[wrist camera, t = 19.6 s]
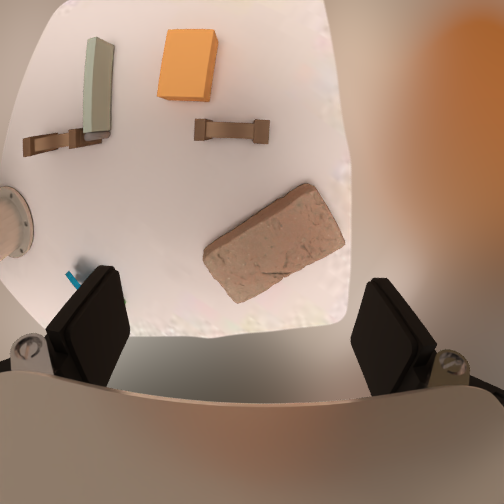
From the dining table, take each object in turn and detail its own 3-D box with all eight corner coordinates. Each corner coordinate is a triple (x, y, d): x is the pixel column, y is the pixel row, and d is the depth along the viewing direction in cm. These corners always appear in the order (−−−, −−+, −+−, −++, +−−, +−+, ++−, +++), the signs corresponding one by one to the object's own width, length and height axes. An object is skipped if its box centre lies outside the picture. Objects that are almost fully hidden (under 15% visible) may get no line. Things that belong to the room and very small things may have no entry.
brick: (237, 291, 41) (236, 310, 37) (201, 247, 38) (196, 263, 34) (338, 230, 38) (349, 244, 33) (307, 178, 35) (316, 185, 30)
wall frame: (51, 150, 31) (23, 157, 25) (51, 134, 30) (22, 138, 24) (264, 141, 32) (268, 144, 26) (265, 122, 31) (269, 120, 25)
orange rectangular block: (169, 100, 30) (156, 96, 25) (178, 41, 27) (167, 29, 22) (209, 101, 30) (203, 97, 26) (218, 42, 27) (214, 29, 22)
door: (110, 137, 31) (91, 140, 26) (95, 139, 31) (75, 143, 26) (113, 45, 26) (96, 36, 21) (98, 49, 26) (79, 41, 21)
